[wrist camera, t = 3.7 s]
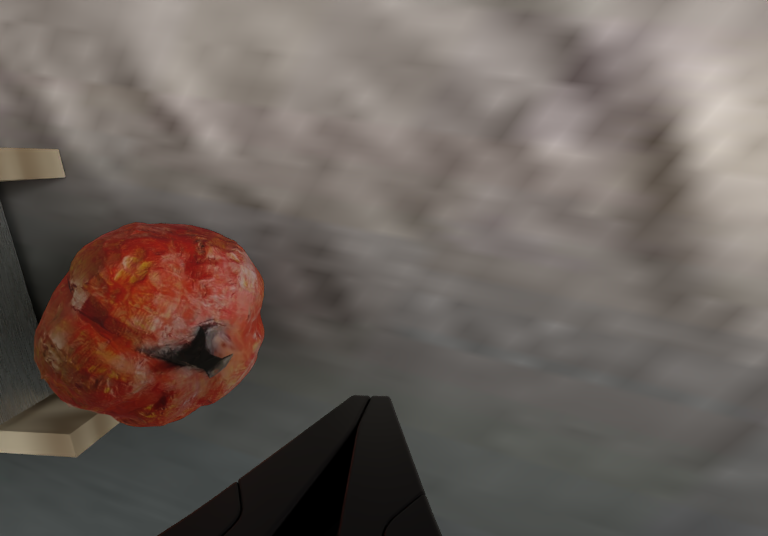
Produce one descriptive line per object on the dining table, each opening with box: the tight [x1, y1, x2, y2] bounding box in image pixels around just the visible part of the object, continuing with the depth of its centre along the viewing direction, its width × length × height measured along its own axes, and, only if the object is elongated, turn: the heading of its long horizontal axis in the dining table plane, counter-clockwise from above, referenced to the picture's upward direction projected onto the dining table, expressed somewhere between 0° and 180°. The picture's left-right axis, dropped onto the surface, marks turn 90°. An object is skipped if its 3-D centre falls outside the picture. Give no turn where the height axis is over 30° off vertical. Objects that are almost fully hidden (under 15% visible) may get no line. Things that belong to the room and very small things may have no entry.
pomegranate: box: [34, 222, 264, 427], centre depth 15 cm, size 7×7×10 cm
